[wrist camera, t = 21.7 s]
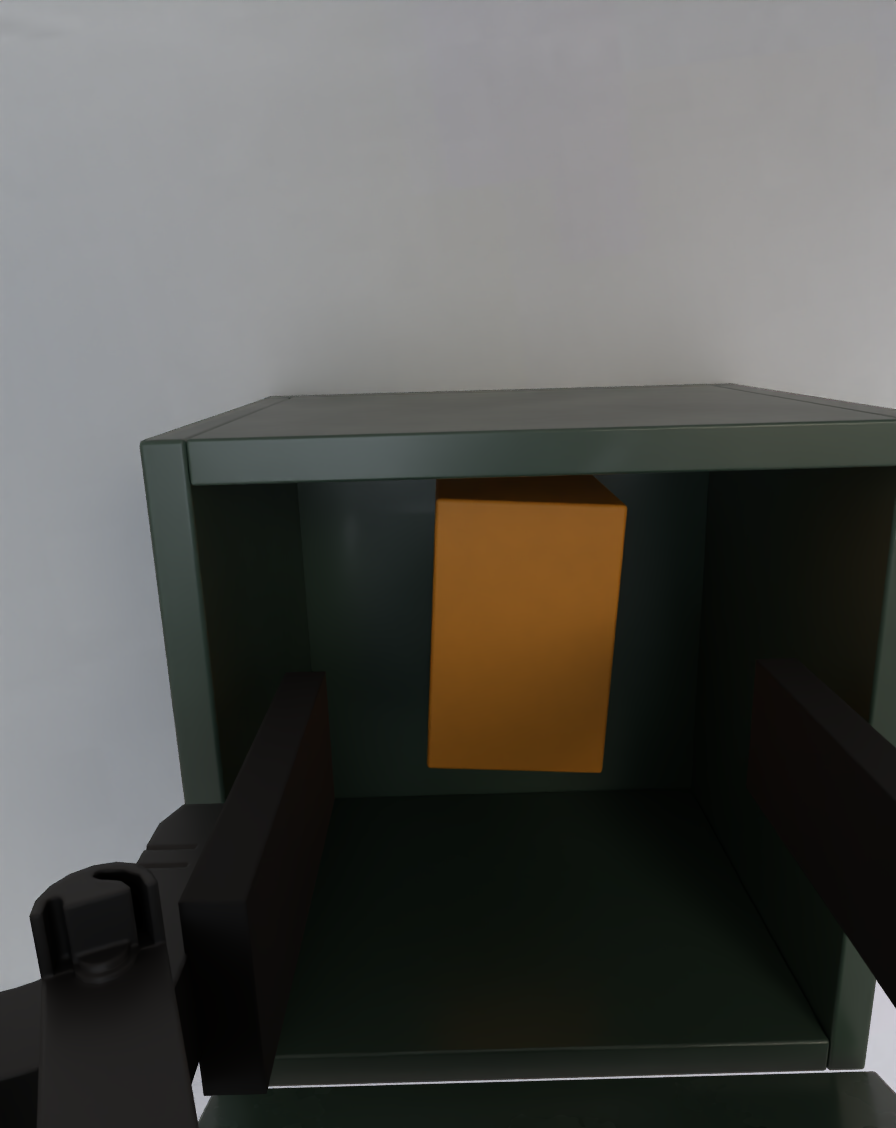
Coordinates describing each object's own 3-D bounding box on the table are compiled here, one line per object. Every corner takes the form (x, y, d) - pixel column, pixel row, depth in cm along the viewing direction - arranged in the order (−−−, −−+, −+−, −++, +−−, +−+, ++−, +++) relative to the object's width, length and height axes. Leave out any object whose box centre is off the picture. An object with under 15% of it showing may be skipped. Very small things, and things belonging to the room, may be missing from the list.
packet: (436, 466, 24) (435, 498, 19) (591, 471, 24) (628, 505, 19) (429, 688, 26) (426, 769, 21) (572, 692, 26) (602, 774, 21)
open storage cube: (268, 396, 24) (136, 440, 14) (732, 382, 24) (954, 417, 14) (303, 806, 28) (219, 1089, 17) (705, 795, 28) (865, 1070, 17)
